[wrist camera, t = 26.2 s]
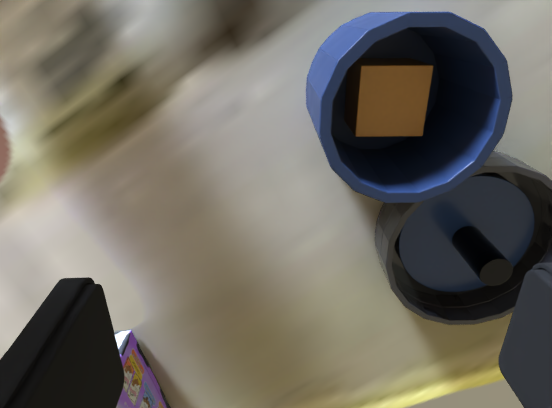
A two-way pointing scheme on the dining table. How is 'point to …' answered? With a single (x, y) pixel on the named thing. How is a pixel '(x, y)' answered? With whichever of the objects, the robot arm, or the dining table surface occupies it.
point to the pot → (440, 109)
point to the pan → (484, 300)
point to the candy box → (137, 376)
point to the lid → (467, 235)
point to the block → (387, 97)
